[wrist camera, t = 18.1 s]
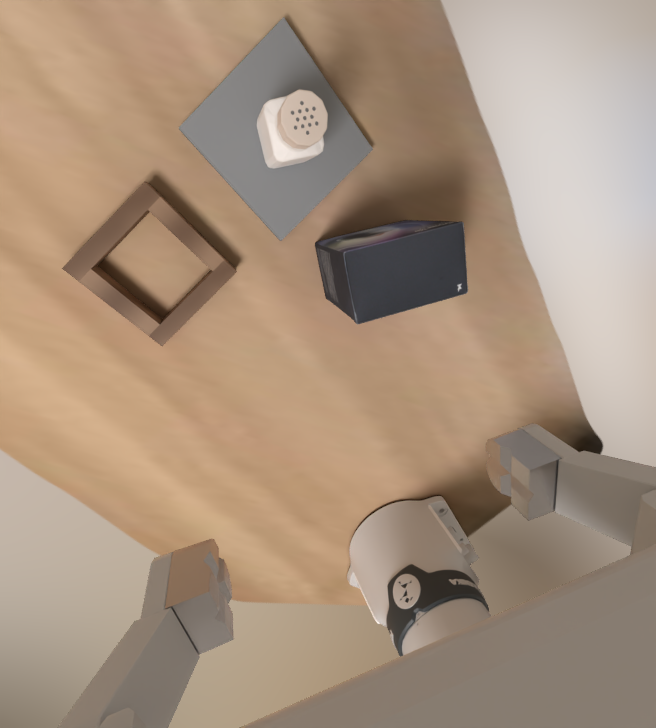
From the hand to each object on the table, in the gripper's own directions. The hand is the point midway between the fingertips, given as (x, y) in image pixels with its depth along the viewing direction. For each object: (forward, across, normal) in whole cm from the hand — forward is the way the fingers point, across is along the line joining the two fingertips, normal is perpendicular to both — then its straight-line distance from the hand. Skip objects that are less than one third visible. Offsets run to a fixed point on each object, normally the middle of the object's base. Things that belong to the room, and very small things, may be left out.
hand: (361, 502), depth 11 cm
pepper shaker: (+30, -6, -12) cm, 33 cm away
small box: (+31, -12, 0) cm, 34 cm away
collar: (+31, +8, -4) cm, 32 cm away
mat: (+31, -6, -12) cm, 34 cm away
